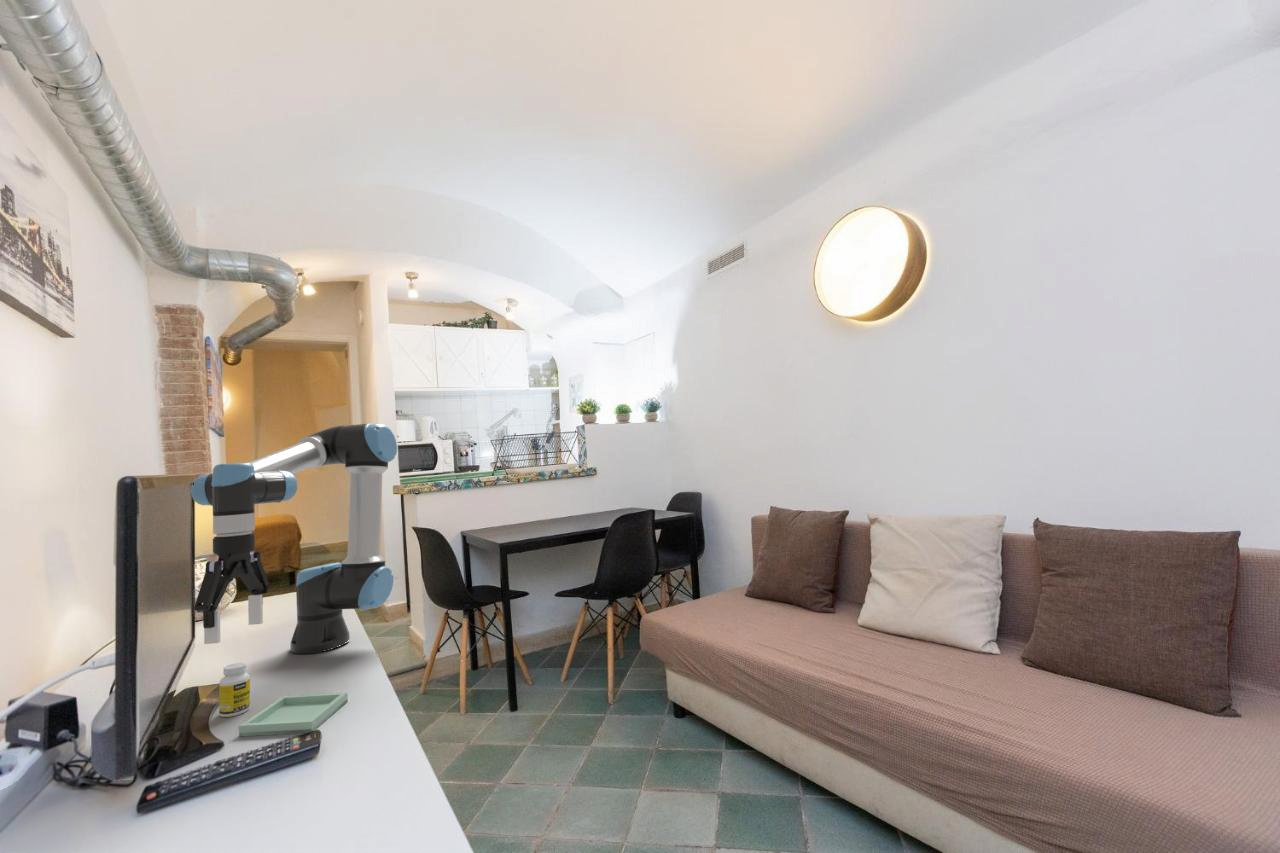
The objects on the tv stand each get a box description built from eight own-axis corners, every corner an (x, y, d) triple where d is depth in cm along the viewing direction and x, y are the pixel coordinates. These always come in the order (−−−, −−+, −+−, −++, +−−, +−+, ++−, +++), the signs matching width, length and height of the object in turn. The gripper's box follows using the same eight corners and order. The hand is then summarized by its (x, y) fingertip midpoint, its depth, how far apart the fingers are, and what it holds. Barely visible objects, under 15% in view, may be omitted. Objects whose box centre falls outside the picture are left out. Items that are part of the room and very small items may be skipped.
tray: (283, 705, 125) (282, 696, 125) (347, 701, 125) (347, 692, 125) (239, 736, 111) (238, 725, 111) (311, 732, 111) (311, 721, 111)
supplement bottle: (234, 718, 119) (233, 670, 120) (212, 717, 120) (212, 670, 121) (256, 707, 125) (255, 661, 125) (235, 706, 126) (235, 660, 126)
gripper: (253, 528, 137) (255, 618, 136) (171, 543, 112) (171, 653, 111) (285, 526, 137) (287, 616, 136) (209, 541, 112) (210, 651, 111)
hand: (235, 633), depth 123 cm, fingers open, 13 cm apart
